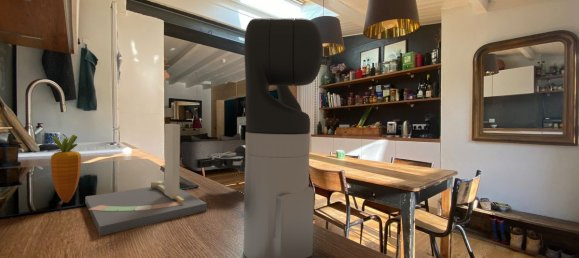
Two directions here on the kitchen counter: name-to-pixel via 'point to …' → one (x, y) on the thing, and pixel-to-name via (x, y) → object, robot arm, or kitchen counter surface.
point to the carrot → (66, 168)
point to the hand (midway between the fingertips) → (195, 163)
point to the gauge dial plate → (138, 208)
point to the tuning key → (171, 163)
